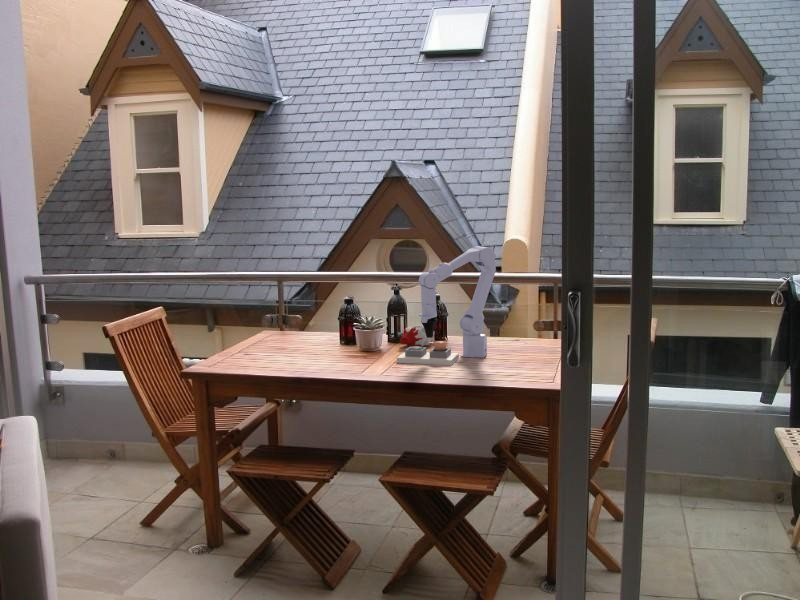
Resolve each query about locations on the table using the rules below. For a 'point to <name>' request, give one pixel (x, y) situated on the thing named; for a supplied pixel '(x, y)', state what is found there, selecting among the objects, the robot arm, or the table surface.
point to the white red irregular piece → (415, 336)
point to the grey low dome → (416, 348)
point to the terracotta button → (440, 345)
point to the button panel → (428, 356)
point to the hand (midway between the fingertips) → (429, 337)
